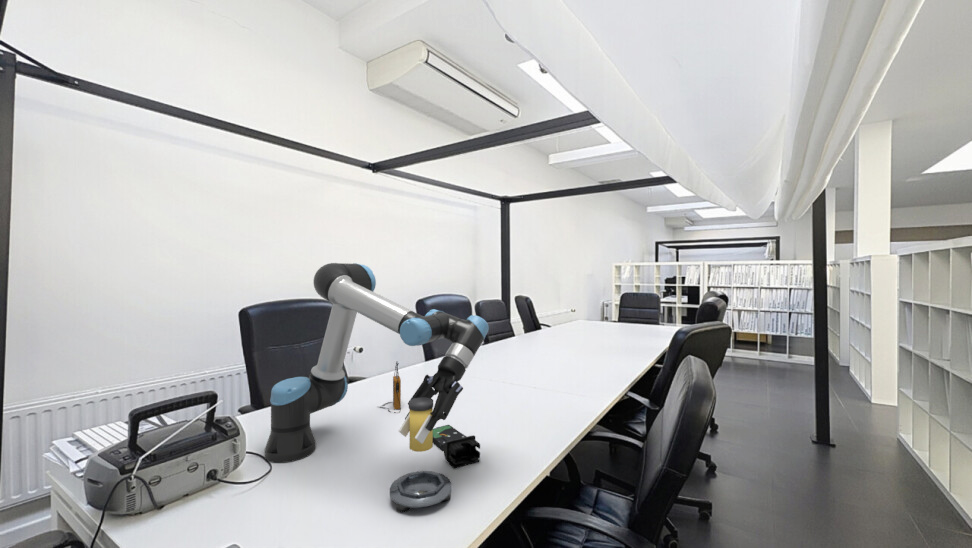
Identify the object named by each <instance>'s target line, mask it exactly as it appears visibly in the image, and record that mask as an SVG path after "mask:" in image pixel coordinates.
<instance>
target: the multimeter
mask: <svg viewBox="0 0 972 548" xmlns="http://www.w3.org/2000/svg"><path fill="white" fill-rule="evenodd" d="M399 364H400V363H399V362H398V361H396V362H395V365H396V366H394V367H395V369H394V371H395V373H394V375H393V377H392V401H389V402H385V403H384V404H382V405H380V406H376V407H377V408H380V409H388V410H387V411H388V413H389V412H390V413H391V411H390V408H388V407H385V405H387V404H391V403H392V406H393V410H394V411H393V412H394V413H393V414H397V413H396V412H395V409H396V410H399V412H401V411H402V410H401V409H402V408H401V406H402V405H401V403H402V402H401V395H402V394H401V393H402V391H401V389H402V388H401V386H402V385H401V384H402V383H401V379H402V378H401V377H400V374H398V372H399V367H398V366H399ZM383 405H384V406H383Z"/></svg>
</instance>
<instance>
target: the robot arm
mask: <svg viewBox="0 0 972 548" xmlns="http://www.w3.org/2000/svg"><path fill="white" fill-rule="evenodd" d="M376 279H377V278H376V276H375V274H374V273H373V270H372V269H371V268H370V267H368V265H365V264H361V263H356V262H355V263H339V262H338V263H337V262H331V263H327V264H324V265H322V266H320V268H318V269H317V271H316V272H315V274H314V277H313V287H314V291H316V293H317V294H318V295H319V296H320V297H321V298H322V299H324V300H326V301H327V302H330V303H331V304H332V306H331V310H330V314H329V318H328V321H327V325H326V329H325V333H324V337H323V341H322V344H321V348H320V352H319V355H318V361H317V364H316V365H314V366H313V367H312V368H311V370H310V373H309V377H307V376H295V377H292V378H291V377H290V378H286V379H283V380H280V381H279V382H277V383H275V384H274V385H273V386H272V388H271V390H270V391H271V392H270V399H269V401H270V433H269V437H268V440H267V442H266V445H265V448H264V459H265V458H266V459H267V460H268V462H271V463H289V462H294V461H295V462H296V461H298V460H301V459H303V458H307V457H308V456H311V454H313V453H314V452H315V451H316V447H317V443H316V438H315V436H314V432H313V430H312V428H311V414H314V413H316V412H318V411H321V410H324V409H327V408H329V407H332V406H334V405H336V404H337V403H340V402H341V401H342V400H343V399H344V398H345V396H346V395H347V392H348V386H349V382H347V381H348V379H347V377H346V376H345V375H346V373H345V371H344V370H343V366H344V362H345V359H346V355H347V350H348V348H349V343H350V340H351V336H352V332H353V329H354V325H355V322H356V318H357V315H358V314H360V315H361V316H364V317H365V318H368V319H370V320H371V321H373V322H375V323H377V324H379V325H381V326H383V327H385V328H387V329H389V330H391V331H392V332H394V333H397V334H399V336H400V338H401V340H402V342H403V343H404V344H405V345H407V346H409V347H416V346H422V345H424V344H428V343H431V342H434V341H438V340H441V339H444V340H446V341H449V342H451V345H450V346H449V348H448V349H447V350H446V352H445V355H444V356H443V357H442V359H441V360H440V362H439V364H438V366H437V371H436V372H435V373H434V375H432V376H431V375H429V374H425V375H424V378H423V380H422V382H421V383H420V385H419V386H418V388H417V389H416V391H415V392H414V394H413V395H412V397H411V398H410V399H409V400H411V399H414V398H419V397H427V398H431V399H433V397H434V396H436V395H437V397H436V400H435V403H434V405H433V412H430V414H431V415H432V416H431V415H428V416H427V418H426V420H425V421H424V423H423V425H422V426H421V428H420V430H419V431H418V433H417V435H416V436H415V439H416V440H418V441H419V442H420V443H421V444H423V442H424V440H425V439H426V437H427V435H428V434H429V432H430V431H432V430H433V429H434V427H436V425H437V423H438V421H440V420H443V421H445V420H447V417H448V416H449V413H450V412H451V410H452V408H453V406H454V404H455V402H456V400H457V398H458V397H459V395H460V394H461V392H462V391H463V390H464V387H463V386H462V384H460V382H459V381H461V380H462V378H463V377H464V374H465V373H466V371H467V370H466V369H468V368H469V366H470V364H471V362H472V361H473V359H474V357H475V356H476V354H477V352H478V350H479V348H480V347H481V345H482V343H483V342H484V341H485V338H486V336H487V334H488V333H489V331H490V330H489V329H490V326H489V324H488V322H487V321H486V320H485V319H484V318H483V317H481V316H479V315H476V314H475V315H469V316H468V317H467V318H466V319H462V318H459V317H458V316H455V315H452V314H449V313H447V312H444V311H443V310H438V309H430V310H429V311H428V312H427V313H426V314H425V315H424V316H423V315H421V314H419V313H417V312H415V311H413V310H410V308H407V307H405V306H403V305H401V304H399V303H397V302H395V301H393V300H391V299H389V298H387V297H384V296H383V295H381V294H378V293H376V292H375V289H376V285H377V280H376ZM407 405H408V406H409V401H408V403H407ZM398 432H399V433H400V435H402V436H404V437H405V438H406V437H407V436H408V435H409V434H410V410H409V412H408V413H407V414H406V416H405V417H404V420H403V423H402V424H401V426H400V427H399V429H398ZM266 459H265V460H266ZM267 460H266V461H267Z"/></svg>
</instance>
